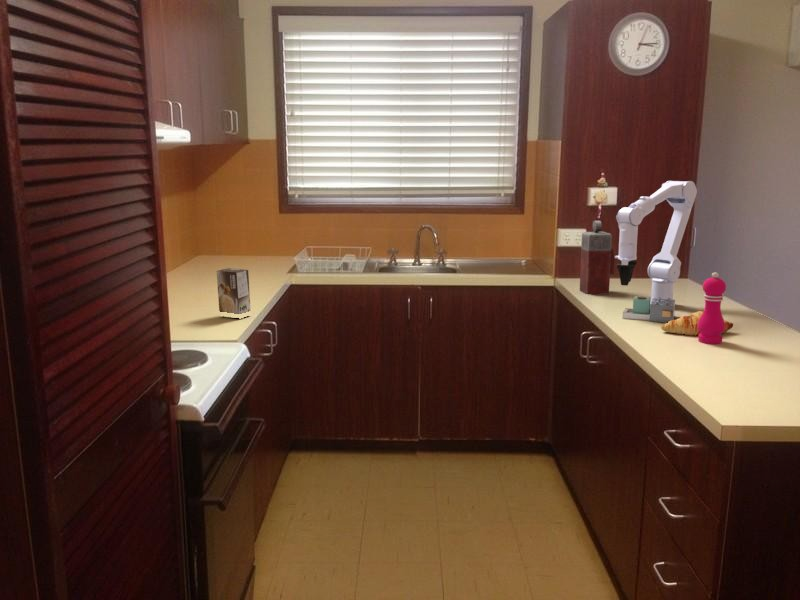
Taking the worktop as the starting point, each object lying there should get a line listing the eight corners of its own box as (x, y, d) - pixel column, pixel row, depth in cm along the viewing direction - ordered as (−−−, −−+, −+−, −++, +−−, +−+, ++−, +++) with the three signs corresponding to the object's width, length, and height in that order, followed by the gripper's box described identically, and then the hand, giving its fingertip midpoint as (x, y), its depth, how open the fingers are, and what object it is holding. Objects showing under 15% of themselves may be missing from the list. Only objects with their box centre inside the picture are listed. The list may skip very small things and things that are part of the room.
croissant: (663, 346, 211) (669, 326, 206) (654, 324, 219) (659, 304, 214) (735, 344, 210) (742, 324, 205) (723, 322, 218) (729, 302, 213)
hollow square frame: (625, 312, 241) (626, 294, 240) (674, 315, 235) (675, 297, 234) (621, 319, 230) (622, 301, 229) (672, 323, 224) (673, 304, 223)
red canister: (615, 294, 274) (618, 221, 268) (586, 294, 273) (589, 221, 267) (606, 289, 282) (610, 219, 277) (579, 290, 282) (582, 219, 276)
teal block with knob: (649, 313, 235) (650, 296, 234) (648, 316, 230) (649, 299, 229) (633, 312, 237) (634, 295, 236) (632, 315, 232) (633, 298, 231)
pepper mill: (700, 337, 207) (705, 269, 203) (726, 340, 203) (732, 271, 199) (692, 342, 202) (698, 272, 198) (719, 346, 197) (725, 275, 193)
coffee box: (252, 316, 241) (249, 269, 237) (239, 320, 235) (236, 272, 232) (231, 313, 245) (228, 267, 242) (218, 317, 239) (215, 270, 236)
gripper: (618, 240, 245) (616, 279, 248) (612, 245, 232) (610, 286, 235) (639, 241, 242) (637, 280, 245) (635, 246, 229) (633, 287, 232)
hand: (625, 283), depth 240 cm, fingers open, 7 cm apart
